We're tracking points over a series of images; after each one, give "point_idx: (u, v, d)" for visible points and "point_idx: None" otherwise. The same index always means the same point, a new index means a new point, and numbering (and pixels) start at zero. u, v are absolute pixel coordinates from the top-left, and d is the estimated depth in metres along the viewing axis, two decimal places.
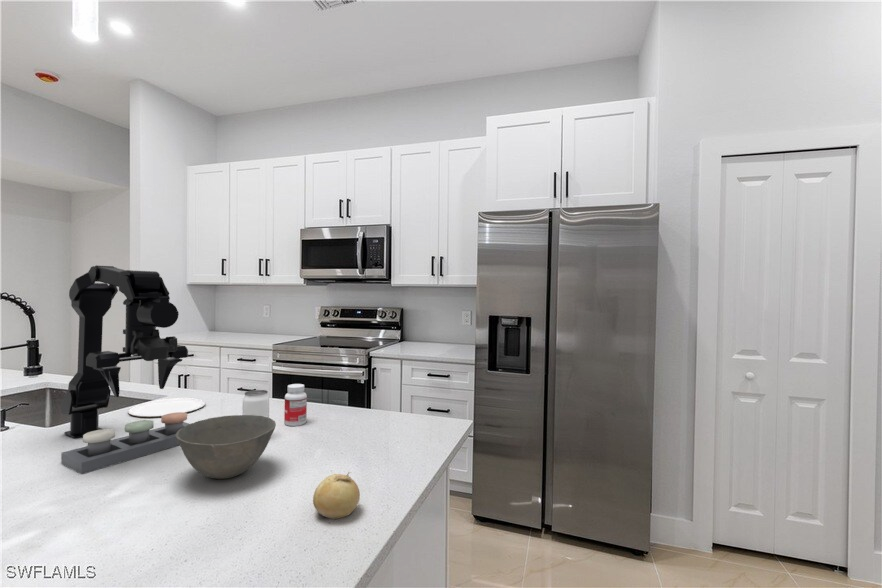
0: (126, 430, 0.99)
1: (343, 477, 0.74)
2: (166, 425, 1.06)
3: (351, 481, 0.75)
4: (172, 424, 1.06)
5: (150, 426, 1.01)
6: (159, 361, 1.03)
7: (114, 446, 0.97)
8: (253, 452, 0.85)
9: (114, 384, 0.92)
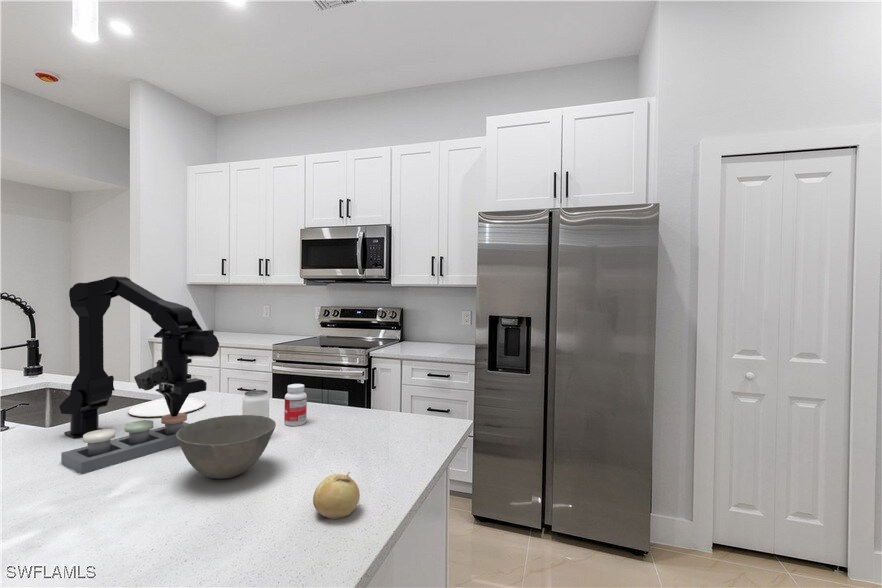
0: (126, 430, 0.99)
1: (343, 477, 0.74)
2: (166, 426, 1.06)
3: (351, 481, 0.75)
4: (172, 425, 1.06)
5: (150, 426, 1.01)
6: None
7: (114, 446, 0.97)
8: (253, 452, 0.85)
9: (167, 404, 1.08)
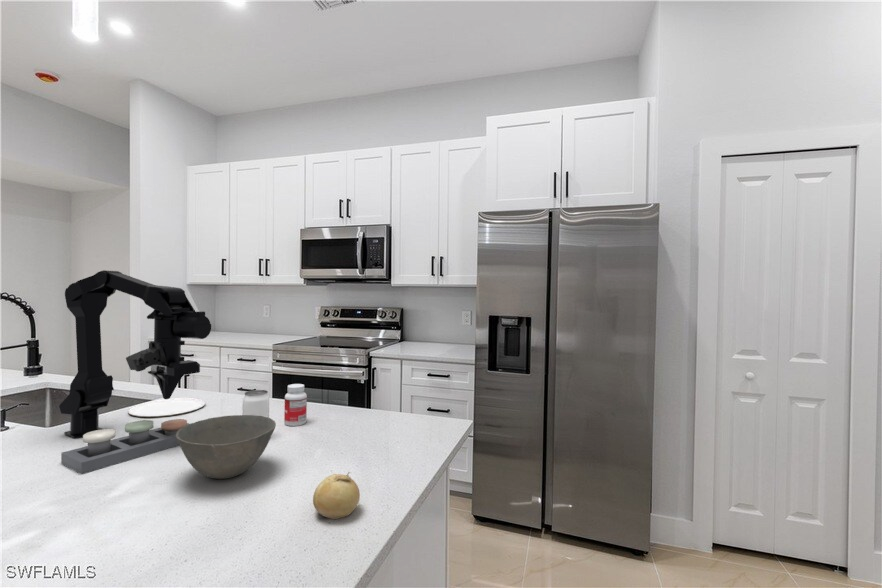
0: (126, 430, 0.99)
1: (343, 477, 0.74)
2: (166, 432, 1.06)
3: (351, 481, 0.75)
4: (172, 431, 1.06)
5: (150, 426, 1.01)
6: None
7: (114, 446, 0.97)
8: (253, 452, 0.85)
9: None
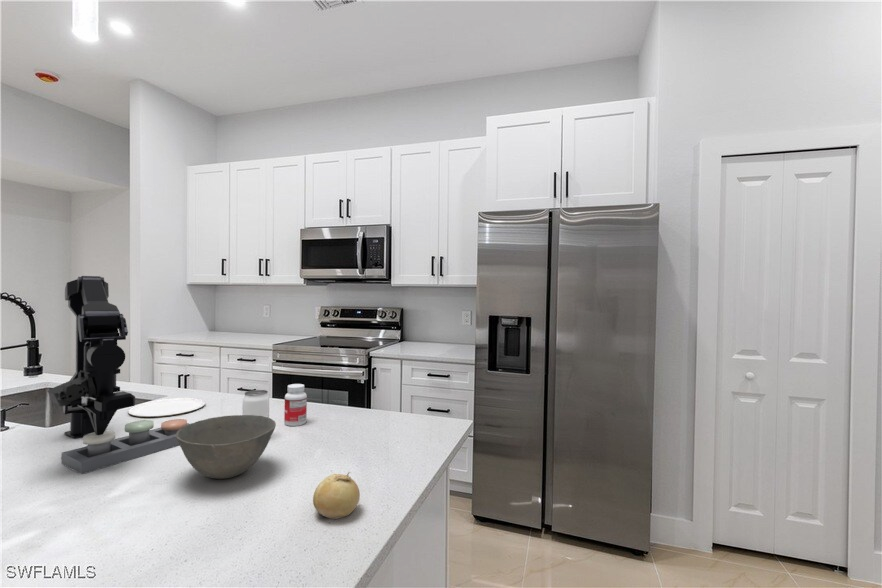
0: (126, 430, 0.99)
1: (343, 477, 0.74)
2: (166, 432, 1.06)
3: (351, 481, 0.75)
4: (172, 431, 1.06)
5: (150, 426, 1.01)
6: None
7: (114, 446, 0.97)
8: (253, 452, 0.85)
9: (91, 421, 0.94)
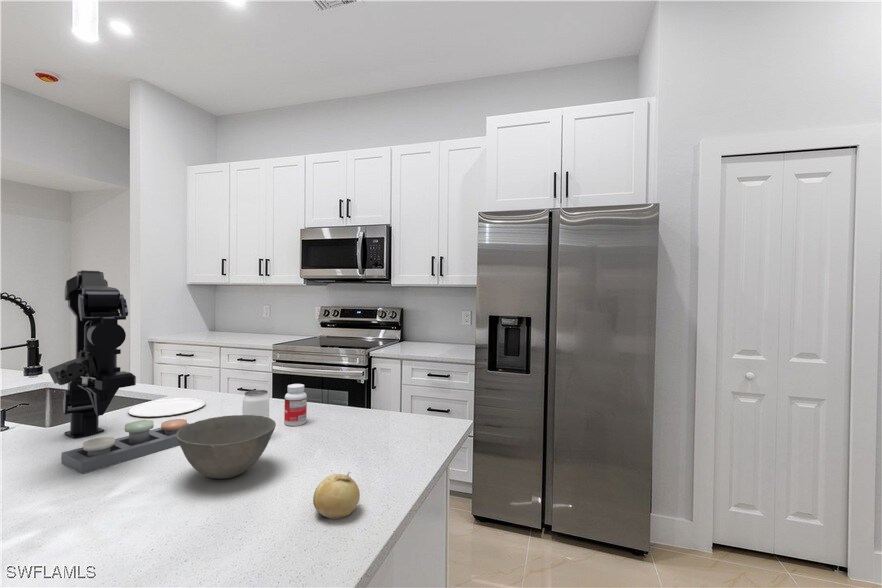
0: (126, 430, 0.99)
1: (343, 477, 0.74)
2: (166, 432, 1.06)
3: (351, 481, 0.75)
4: (172, 431, 1.06)
5: (150, 426, 1.01)
6: None
7: (114, 446, 0.97)
8: (253, 452, 0.85)
9: (91, 401, 0.94)
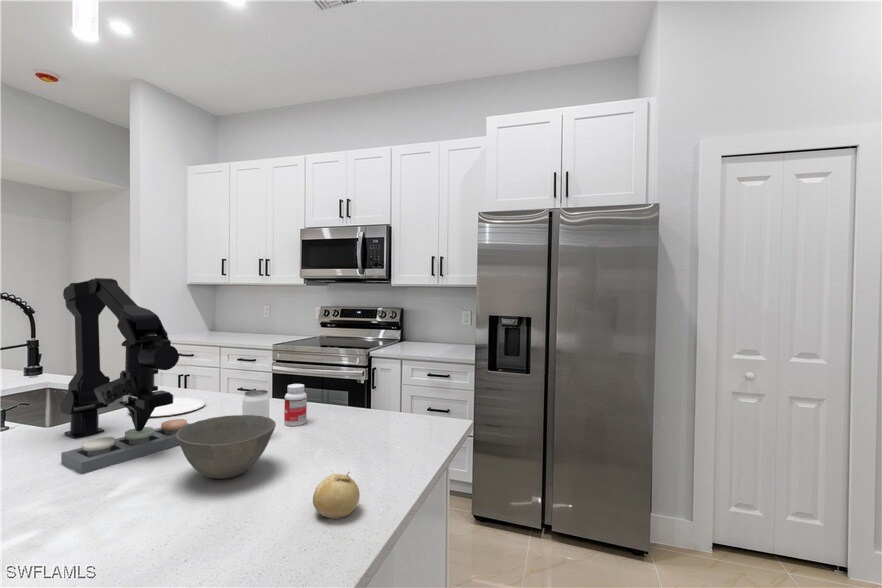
0: (126, 437, 0.99)
1: (343, 477, 0.74)
2: (166, 432, 1.06)
3: (351, 481, 0.75)
4: (172, 431, 1.06)
5: (150, 433, 1.01)
6: None
7: (114, 446, 0.97)
8: (253, 452, 0.85)
9: None
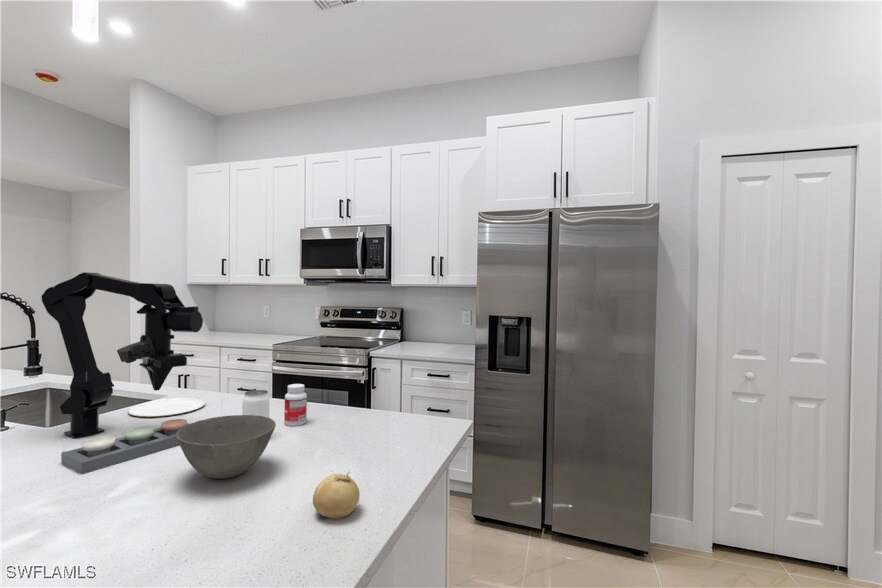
0: (126, 437, 0.99)
1: (343, 477, 0.74)
2: (166, 432, 1.06)
3: (351, 481, 0.75)
4: (172, 431, 1.06)
5: (150, 433, 1.01)
6: None
7: (114, 446, 0.97)
8: (253, 452, 0.85)
9: (150, 378, 1.11)
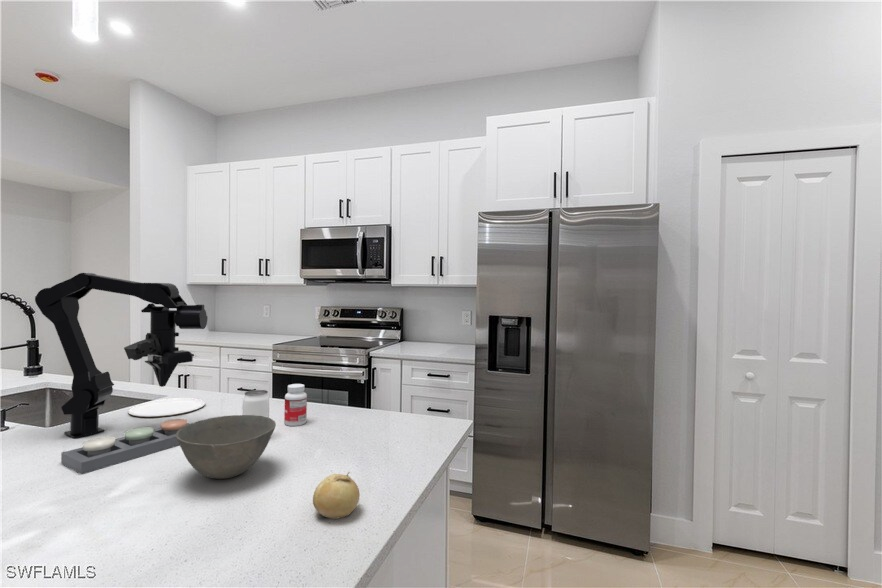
0: (126, 437, 0.99)
1: (343, 477, 0.74)
2: (166, 432, 1.06)
3: (351, 481, 0.75)
4: (172, 431, 1.06)
5: (150, 433, 1.01)
6: None
7: (114, 446, 0.97)
8: (253, 452, 0.85)
9: (156, 375, 1.14)
